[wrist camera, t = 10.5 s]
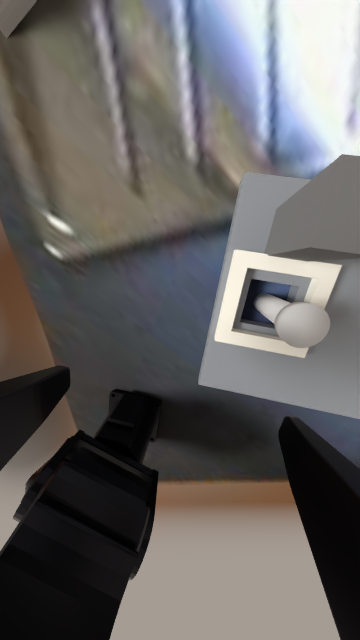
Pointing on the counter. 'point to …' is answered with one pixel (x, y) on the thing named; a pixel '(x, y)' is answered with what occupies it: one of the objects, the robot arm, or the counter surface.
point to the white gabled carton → (13, 14)
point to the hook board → (274, 368)
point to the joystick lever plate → (301, 248)
